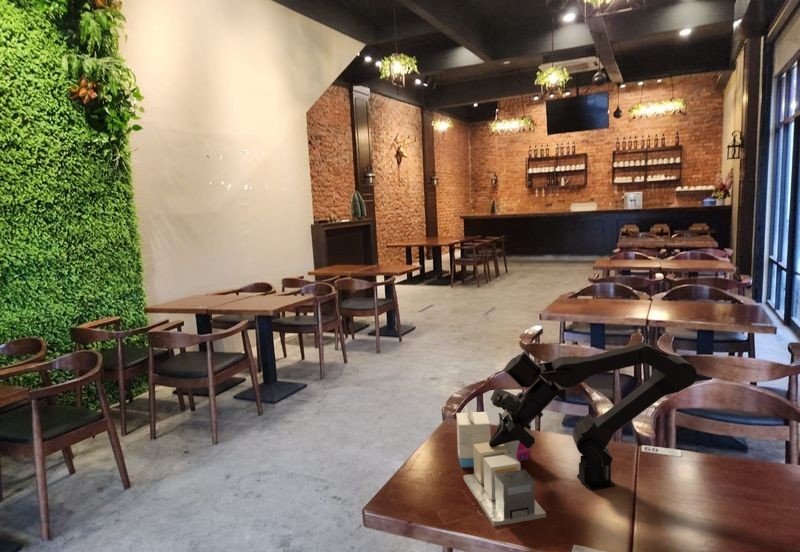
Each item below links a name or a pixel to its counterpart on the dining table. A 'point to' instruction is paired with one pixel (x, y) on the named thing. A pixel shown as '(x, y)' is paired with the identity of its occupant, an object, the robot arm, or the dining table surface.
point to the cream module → (497, 470)
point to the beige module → (482, 452)
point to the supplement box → (518, 450)
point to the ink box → (471, 434)
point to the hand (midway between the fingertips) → (490, 445)
